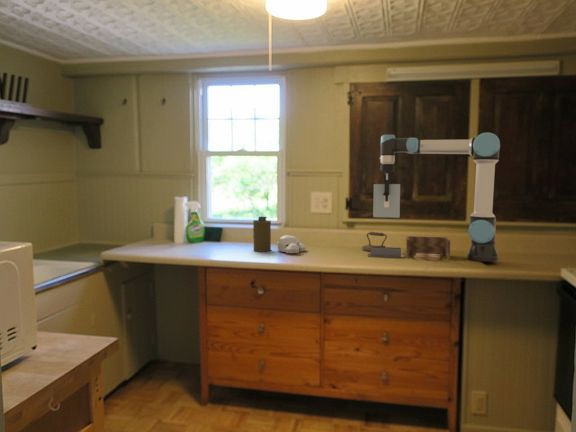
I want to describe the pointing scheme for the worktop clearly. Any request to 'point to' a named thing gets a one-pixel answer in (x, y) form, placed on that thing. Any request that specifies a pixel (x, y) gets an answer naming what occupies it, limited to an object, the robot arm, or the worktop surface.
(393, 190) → the sheet
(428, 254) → the offcut top
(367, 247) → the clothes iron
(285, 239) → the rock
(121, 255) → the worktop surface
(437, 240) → the rack
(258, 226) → the canister
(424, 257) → the offcut middle
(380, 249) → the grey block
